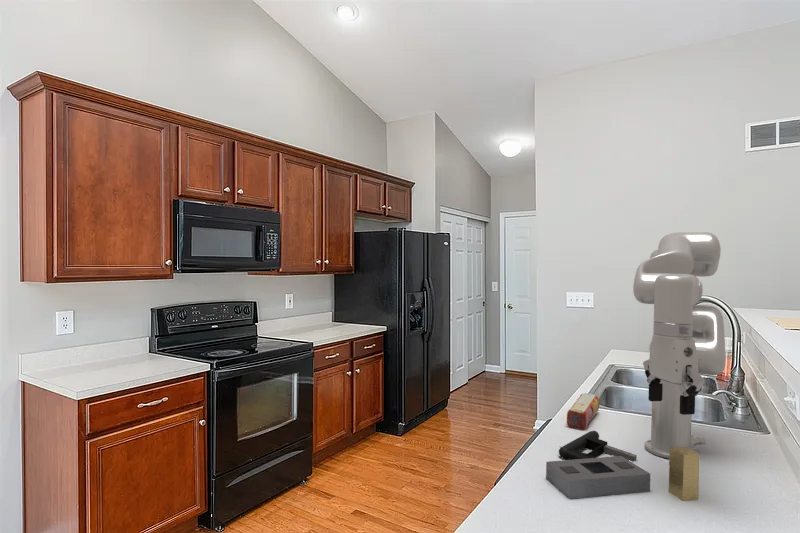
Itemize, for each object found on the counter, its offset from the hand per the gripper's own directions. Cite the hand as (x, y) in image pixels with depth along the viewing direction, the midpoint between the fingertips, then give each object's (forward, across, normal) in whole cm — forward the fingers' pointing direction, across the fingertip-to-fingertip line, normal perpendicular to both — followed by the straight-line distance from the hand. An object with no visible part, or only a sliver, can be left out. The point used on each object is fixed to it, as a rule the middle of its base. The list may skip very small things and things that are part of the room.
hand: (670, 407), depth 108 cm
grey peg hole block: (+19, +6, +14) cm, 24 cm away
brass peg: (+19, -2, -2) cm, 20 cm away
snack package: (+20, +48, -8) cm, 53 cm away
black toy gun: (+20, +22, +3) cm, 29 cm away
